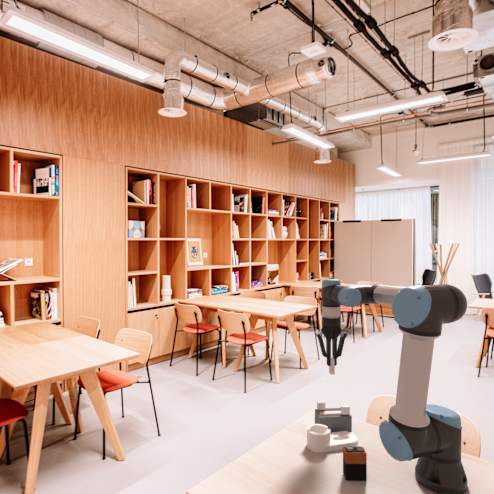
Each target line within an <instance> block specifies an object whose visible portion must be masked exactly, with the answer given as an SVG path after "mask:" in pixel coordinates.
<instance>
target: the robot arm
mask: <svg viewBox="0 0 494 494" xmlns="http://www.w3.org/2000/svg"><path fill="white" fill-rule="evenodd" d="M371 304H372V305H379V306H388V307H391V313H392V315H394V316H393V319H394V321H395V322H396V323H397V325H398V329H399V330H400V332H401V333H402V339H401V340H402V341H401V350H400V351H401V352H400V359H399V368H398V378H397V386H396V395H395V404H394V405H392V406H391V407H390V408H389V410H388V411H389V412H388V419H384V420H383V421H382V422H380V424H379V426H378V428H379V429H378V430H379V431H378V433H379V434H378V435H379V439H380V441H381V443H382V446H383V448H384V449H385V451H386V452H387V454H388V455H389V456H390V457H391V458H392V459H394V460H395V461H398V462H409V461H413V460H416V459H417V461H416V464H415V466H414V477H415V479H416V481H417V482H418V483H420V485H422V486H423V487H425V488H426V489H428V490H430V491H432V492H435V493H438V494H465V492H467V490H468V478H467V474H466V470H465V468H464V465H463V462H462V429H463V427H462V418H461V417H460V415H459V414H458V413H457V412H456V411H454V410H453V409H450V408H448V407H445V406H441V405H438V404H431V403H429V404H428V403H427V402H428V395H429V394H428V393H429V389H430V388H429V386H430V379H431V371H432V363H433V362H432V361H433V354H434V347H435V340H436V339H437V338H439V337H440V336H441V335H442V330H443V325H446V324H452V323H455V322H456V321H459V320H460V319H462V318H463V316H464V315H465V314H466V312H467V308H468V300H467V297H466V295H465V294H464V292H463V290H461V289H459V288H458V287H456V286H455V285H452V284H444V283H443V284H429V285H425V284H424V285H420V284H419V285H418V284H416V285H411V286H397V285H395V286H394V285H385V284H381V283H380V284H379V283H376V284H365V285H362V284H361V285H359V284H358V285H341V280H340V279H338V278H326V279H325V278H324V279H323V280H322V282H321V306H322V307H321V314H322V315H321V316H322V318H321V329H320V331H319V332H316V333H315V337H317V340H318V343H319V347H320V351H321V355H322V356H323V357H324V358H326V365H327V366H328V373H329V374H330V375H333V376H334V375H335V368H336V367H335V366H337V364H338V361H337V360H338V358H339V357H341V356H342V354H343V350H344V349H343V348H344V346H345V340H346V338H347V337H348V333H346V332H345V331H343V329H342V327H341V325H342V324H341V323H342V322H341V320H342V319H341V317H340V316H341V313H342V312H341V309H342V308H341V306H343V307H346V308H347V307H348V308H349V307H350V308H355V307H357V306H358V305H359V306H360V305H371ZM323 336H324V337H325V344H324V339H323ZM339 336H340V337H339ZM338 338H339V341H338ZM325 345H326V346H325ZM325 347H326V348H325Z"/></svg>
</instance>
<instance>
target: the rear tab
mask: <svg viewBox="0 0 494 494" xmlns="http://www.w3.org/2000/svg"><path fill="white" fill-rule="evenodd" d="M325 408H326V402H325V400H316V409H318V410H325Z"/></svg>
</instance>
